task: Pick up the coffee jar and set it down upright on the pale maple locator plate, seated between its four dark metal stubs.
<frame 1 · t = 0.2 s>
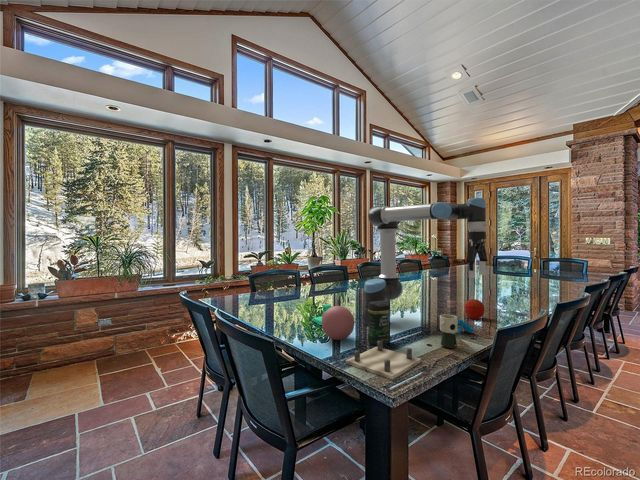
hand: (477, 276, 148), 28 cm above the table, tool pointing down, fingers open, 13 cm apart
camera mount: (324, 324, 173), on the table
locator plate: (383, 362, 118), on the table
blue irregular piece: (462, 333, 153), on the table
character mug: (448, 347, 134), on the table
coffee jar: (379, 343, 140), on the table
pink ovoid: (335, 338, 148), on the table
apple: (474, 318, 178), on the table
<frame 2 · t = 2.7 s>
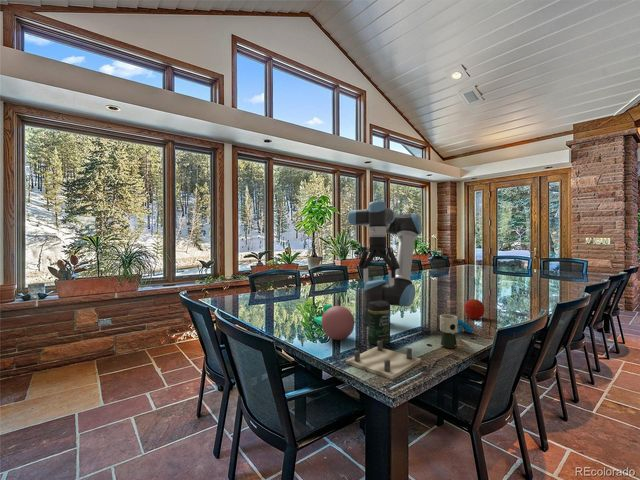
hand: (378, 284, 140), 26 cm above the table, tool pointing down, fingers open, 13 cm apart
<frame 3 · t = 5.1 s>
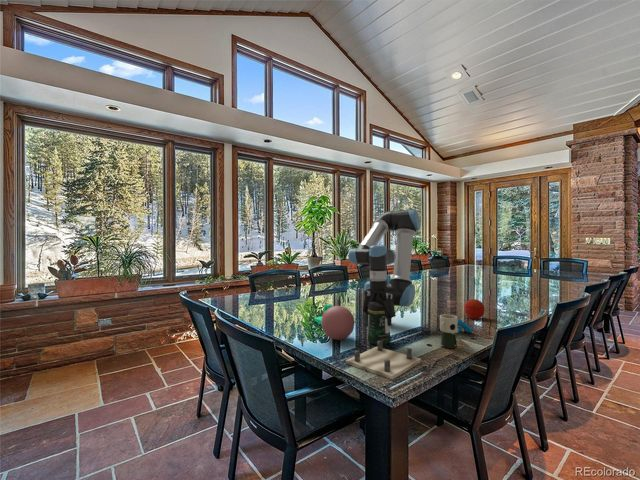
hand: (379, 330, 140), 5 cm above the table, tool pointing down, fingers closed on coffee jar, 8 cm apart
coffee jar: (379, 343, 140), on the table, touching gripper
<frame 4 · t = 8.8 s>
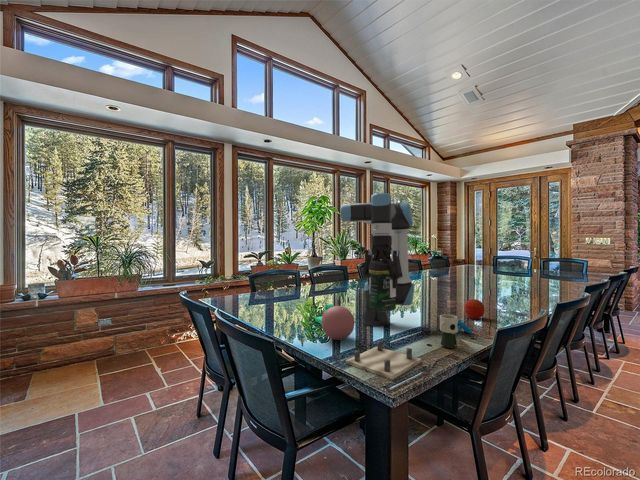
hand: (382, 295, 118), 25 cm above the table, tool pointing down, fingers closed on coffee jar, 8 cm apart
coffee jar: (382, 310, 118), point 20 cm above the table, touching gripper
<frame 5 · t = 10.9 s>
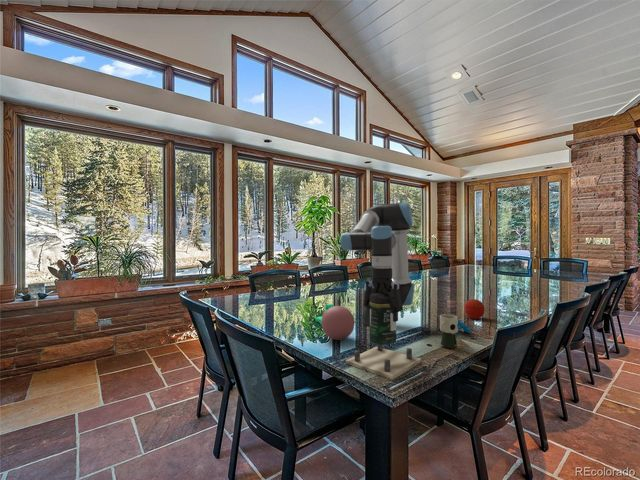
hand: (382, 327, 118), 13 cm above the table, tool pointing down, fingers closed on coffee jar, 8 cm apart
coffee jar: (383, 342, 118), point 8 cm above the table, touching gripper
when the fingers open (8 cm above the table, at t = 12.5 s): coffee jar drops 1 cm, resting on locator plate.
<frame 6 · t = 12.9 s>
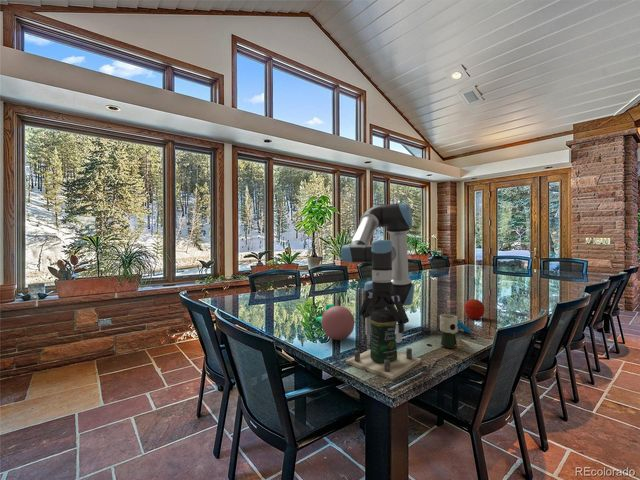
hand: (383, 337, 118), 9 cm above the table, tool pointing down, fingers open, 13 cm apart
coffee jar: (384, 360, 118), point 1 cm above the table, touching locator plate
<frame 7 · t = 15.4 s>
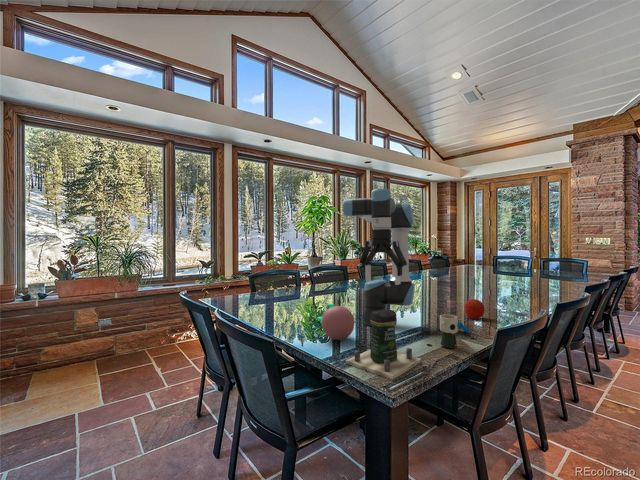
hand: (382, 282, 124), 29 cm above the table, tool pointing down, fingers open, 13 cm apart
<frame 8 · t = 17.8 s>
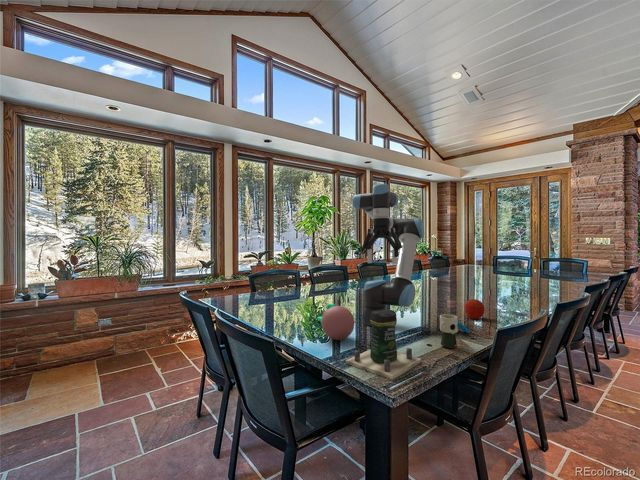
hand: (381, 263, 146), 35 cm above the table, tool pointing down, fingers open, 13 cm apart
at the end: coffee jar 0.3 cm off-centre on the locator plate, point 1.0 cm above the locator plate's base; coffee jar tilted 0°; the gripper is holding nothing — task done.
